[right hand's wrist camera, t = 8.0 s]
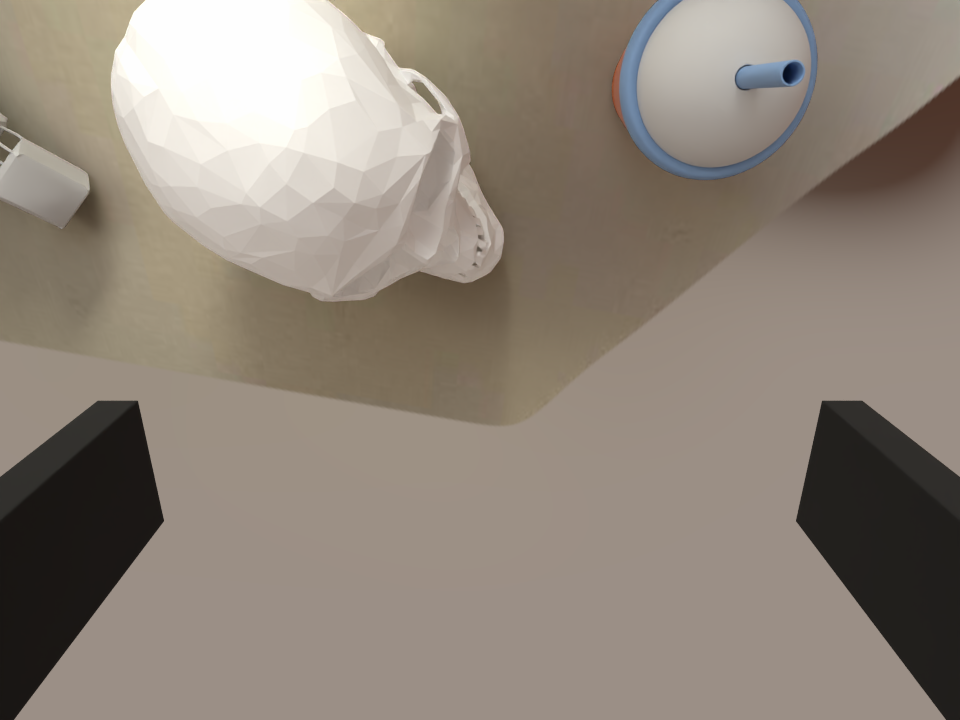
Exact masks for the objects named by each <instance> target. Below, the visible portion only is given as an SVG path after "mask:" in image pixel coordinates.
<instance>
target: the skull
mask: <svg viewBox="0 0 960 720" xmlns="http://www.w3.org/2000/svg"><path fill="white" fill-rule="evenodd" d="M412 81H415V82H421V83H424V85H425V86H426V87H427V88H428V90H429V91H430V92H431V94H432V95H433V96H434V97H435V99H436V100H437V101H438V103H439V106H440V108H441V112H442V114H437V113H436V112H435V111H434V109H433V108H432V107H431V106H430V105H429V104H428V103H427V102H426V101H425V100H424V98H422V97H421V96H420V95H419V94H417V91H416V88H415V85H414V84H413V83H412ZM111 92H112V102H113V108H114V112H115V116H116V120H117V124H118V127H119V130H120V132H121V135H122V138H123V140H124V143H125V145H126V147H127V149H128V151H129V153H130V155H131V157H132V159H133V161H134V163H135V165H136V167H137V169H138V171H139V173H140V175H141V177H142V179H143V181H144V183H145V185H146V186H147V188H148V189H149V191H150V192H151V194H152V195H153V197H154V198H155V200H156V201H157V203H158V204H159V206H160V207H161V209H162V210H163V212H164V213H165V214H166V215H167V216H168V217H169V219H170V220H171V221H172V222H174V223H175V224H176V225H177V226H179V227H180V228H181V229H182V230H184V231H185V232H186V233H188V234H189V235H190V236H191V237H193V238H194V239H195V240H197V241H198V242H199V243H200V244H202V245H203V246H205V247H206V248H208V249H209V250H211V251H213V252H214V253H216V254H217V255H219V256H221V257H222V258H224V259H226V260H227V261H229V262H232V263H234V264H236V265H238V266H241V267H243V268H245V269H247V270H250V271H252V272H254V273H257V274H259V275H261V276H263V277H266V278H268V279H270V280H273V281H275V282H277V283H280V284H282V285H285V286H288V287H292V288H295V289H299V290H302V291H306V292H309V293H311V295H312V297H314V298H316V299H318V300H320V301H332V302H337V301H350V300H365V299H368V298H371V297H374V296H375V295H376V294H377V293H378V291H379V290H381V289H383V288H385V287H387V286H389V285H391V284H393V283H394V282H396V281H398V280H399V279H401V278H403V277H406V276H408V275H411V274H413V273H416V272H418V271H421V272H424V273H427V274H430V275H434V276H438V277H441V278H443V279H450V280H453V281H457V282H461V283H468V282H473V281H475V280H477V279H479V278H481V277H483V276H485V275H487V274H488V273H490V272H491V271H492V270H493V268H494V267H495V266H496V264H497V263H498V262H499V260H500V259H501V255H502V250H503V244H504V232H503V228H502V226H501V224H500V222H499V221H498V219H497V218H496V216H495V214H494V213H493V211H492V210H491V208H490V206H489V205H488V203H487V201H486V199H485V197H484V195H483V193H482V191H481V189H480V186H479V184H478V181H477V179H476V176H475V174H474V171H473V169H472V168H471V166H470V164H469V162H470V161H471V157H470V150H469V146H468V142H467V139H466V135H465V131H464V128H463V125H462V123H461V120H460V118H459V116H458V114H457V112H456V110H455V109H454V107H453V106H452V104H451V103H450V101H449V100H448V98H447V97H446V96H445V95H444V94H443V93H442V92H441V91H440V90H439V89H438V88H437V87H436V86H435V85H434V84H433V83H432V82H431V81H430V80H429V79H428V78H427V77H425V76H423V75H422V74H420V73H419V72H417V71H415V70H413V69H408V68H399V67H398V66H397V65H396V63H395V62H394V60H393V59H392V58H391V56H390V55H389V53H388V52H387V50H386V49H385V43H384V42H383V40H382V39H380V38H378V37H375V36H372V35H369V34H366V33H365V32H363V31H361V30H360V29H359V28H358V26H357V25H356V24H355V23H354V22H353V21H352V20H351V19H350V18H348V17H347V16H346V15H345V14H344V13H343V12H341V11H340V10H339V9H338V8H337V7H335V6H334V5H333V4H332V3H330V2H329V1H328V0H145V1H144V2H143V3H142V4H141V5H140V6H139V7H138V8H137V9H136V10H135V11H134V13H133V16H132V18H131V20H130V23H129V25H128V28H127V31H126V34H125V37H124V38H123V40H122V41H121V43H120V44H119V46H118V47H117V49H116V50H115V56H114V62H113V67H112V73H111Z"/></svg>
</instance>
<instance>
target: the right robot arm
mask: <svg viewBox="0 0 960 720" xmlns="http://www.w3.org/2000/svg"><path fill="white" fill-rule="evenodd" d="M163 522H164V519H163V514H162V510H161V505H160V500H159V496H158V491H157V487H156V482H155V478H154V473H153V468H152V464H151V459H150V455H149V450H148V445H147V441H146V436H145V432H144V427H143V423H142V418H141V413H140V409H139V404H138V401H97V402H96V403H94V404H93V405H92V406H91V407H89V408H88V409H87V410H85V411H84V412H83V413H82V414H80V415H79V416H78V417H77V418H75V419H74V420H73V421H71V422H70V423H69V424H68V425H66V426H65V427H64V428H62V429H61V430H60V431H59V432H57V433H56V434H55V435H53V436H52V437H51V438H50V439H48V440H47V441H46V442H45V443H43V444H42V445H41V446H39V447H38V448H37V449H36V450H34V451H33V452H32V453H30V454H29V455H28V456H27V457H25V458H24V459H23V460H21V461H20V462H19V463H18V464H16V465H15V466H14V467H12V468H11V469H10V470H9V471H7V472H6V473H5V474H3V475H2V476H1V477H0V720H14V719H15V718H16V716H17V715H18V714H19V712H20V711H21V710H22V708H23V707H24V706H25V704H26V703H27V702H28V700H29V699H30V698H31V696H32V695H33V694H34V692H35V691H36V690H37V688H38V687H39V686H40V684H41V683H42V682H43V680H44V679H45V678H46V677H47V675H48V674H49V672H50V671H51V670H52V669H53V667H54V666H55V665H56V663H57V662H58V661H59V659H60V658H61V657H62V655H63V654H64V653H65V651H66V650H67V649H68V647H69V646H70V645H71V643H72V642H73V641H74V639H75V638H76V637H77V635H78V634H79V633H80V631H81V630H82V629H83V628H84V626H85V625H86V624H87V622H88V621H89V620H90V618H91V617H92V616H93V614H94V613H95V612H96V610H97V609H98V608H99V606H100V605H101V604H102V602H103V601H104V600H105V598H106V597H107V596H108V594H109V593H110V592H111V590H112V589H113V588H114V586H115V585H116V584H117V583H118V581H119V580H120V579H121V577H122V576H123V574H124V573H125V572H126V571H127V569H128V568H129V567H130V565H131V564H132V563H133V561H134V560H135V559H136V557H137V556H138V555H139V553H140V552H141V551H142V549H143V548H144V547H145V545H146V544H147V543H148V541H149V540H150V539H151V538H152V536H153V535H154V533H155V532H156V531H157V530H158V528H159V527H160V526H161V524H162V523H163ZM796 522H797V523H798V524H799V526H800V527H801V528H802V530H803V531H804V532H805V534H806V535H807V536H808V538H809V539H810V540H811V541H812V543H813V544H814V545H815V547H816V548H817V549H818V551H819V552H820V553H821V555H822V556H823V557H824V559H825V560H826V561H827V563H828V564H829V565H830V567H831V568H832V569H833V571H834V572H835V573H836V575H837V576H838V577H839V578H840V580H841V581H842V582H843V584H844V585H845V586H846V588H847V589H848V590H849V592H850V593H851V594H852V596H853V597H854V598H855V600H856V601H857V602H858V604H859V605H860V606H861V608H862V609H863V610H864V612H865V613H866V614H867V616H868V617H869V618H870V620H871V621H872V622H873V623H874V625H875V626H876V628H877V629H878V630H879V631H880V633H881V634H882V635H883V637H884V638H885V639H886V641H887V642H888V643H889V645H890V646H891V647H892V649H893V650H894V651H895V653H896V654H897V655H898V657H899V658H900V659H901V661H902V662H903V663H904V665H905V666H906V667H907V669H908V670H909V671H910V672H911V674H912V675H913V677H914V678H915V679H916V680H917V682H918V683H919V684H920V686H921V687H922V688H923V690H924V691H925V692H926V694H927V695H928V696H929V698H930V699H931V700H932V702H933V703H934V704H935V706H936V707H937V708H938V710H939V711H940V712H941V714H942V715H943V716H944V717H945V719H946V720H960V477H959V476H958V475H957V474H955V473H954V472H953V471H951V470H950V469H949V468H948V467H946V466H945V465H944V464H942V463H941V462H940V461H939V460H937V459H936V458H935V457H933V456H932V455H931V454H930V453H928V452H927V451H926V450H925V449H923V448H922V447H921V446H919V445H918V444H917V443H916V442H914V441H913V440H912V439H910V438H909V437H908V436H907V435H905V434H904V433H903V432H901V431H900V430H899V429H898V428H896V427H895V426H894V425H892V424H891V423H890V422H889V421H887V420H886V419H885V418H884V417H882V416H881V415H880V414H878V413H877V412H876V411H874V410H873V409H872V408H871V407H869V406H868V405H867V404H866V403H864V402H863V401H822V404H821V409H820V413H819V418H818V422H817V427H816V432H815V436H814V441H813V445H812V450H811V455H810V459H809V464H808V468H807V473H806V478H805V482H804V487H803V491H802V496H801V501H800V505H799V510H798V514H797V519H796Z"/></svg>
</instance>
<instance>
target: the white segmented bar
mask: <svg viewBox="0 0 960 720" xmlns="http://www.w3.org/2000/svg"><path fill="white" fill-rule="evenodd" d="M7 121H8V118H7V117H5V116H4V115H2V114H1V113H0V136H1V135H2V133H3V132H4V130H5V131H7V132H9V133H11V134H13V135H15V136H16V137H18V138H19V139H20V141H19V143H18V144H17V145H16V146H15V147H14V149H13V150H11V149H9V148H8V147H6V146H5V145H3V144H2V143H1V142H0V147H2V148H3V149H5V150H6V151H8V152H10V154H9V155H8V157H7V158H6V160H5V161H4V162H2V161H1V160H0V164H1V165H2V166H0V200H2V201H4V202H6V203H8V204H10V205H12V206H15V207H17V208H19V209H21V210H23V211H25V212H27V213H30V214H32V215H34V216H36V217H38V218H40V219H42V220H45V221H47V222H49V223H51V224H53V225H55V226H57V227H59V228H60V229H62V228H64V227H66V225H67V224H68V222H69V221H70V220H71V218H72V217H73V215H74V214H75V213H76V211H77V210H78V209H79V207H80V206H81V204H82V203H83V202H84V200H85V199H86V197H87V196H88V195H89V193H90V186H89V177H88V174H87V173H86V172H85V171H83V170H82V169H81V168H79V167H77V166H75V165H73V164H71V163H69V162H68V161H66V160H64V159H62V158H60V157H58V156H56V155H55V154H53V153H51V152H49V151H47V150H45V149H43V148H42V147H40V146H38V145H36V144H34V143H32V142H30V141H29V140H27V139H25V138H23V137H22V136H20V135H19V134H18V133H16V132H14V131H12V130H10V129H8V128H6V127H7Z"/></svg>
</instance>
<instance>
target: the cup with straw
mask: <svg viewBox="0 0 960 720" xmlns="http://www.w3.org/2000/svg"><path fill="white" fill-rule="evenodd" d="M816 74H817V46H816V40H815V35H814V31H813V28H812V25H811V23H810V20H809V18H808V16H807V14H806V12H805V10H804V9H803V7H802V6H801V4H800V3H799V1H798V0H658V1H657V2H656V3H655V4H654V5H653V6H652V7H651V8H650V9H649V10H648V12H647V13H646V14H645V15H644V17H643V18H642V20H641V21H640V22H639V24H638V26H637V27H636V29H635V31H634V32H633V35H632V37H631V39H630V41H629V43H628V45H627V47H626V49H625V50H624V52H623V54H622V56H621V58H620V60H619V62H618V64H617V67H616V69H615V72H614V76H613V81H612V98H613V103H614V107H615V109H616V112H617V114H618V116H619V117H620V119H621V121H622V123H623V124H624V126H625V127H626V129H627V130H628V132H629V134H630V136H631V138H632V139H633V141H634V142H635V144H636V146H637V147H638V148H639V149H640V151H641V152H642V153H643V154H644V155H645V156H646V157H647V158H648V159H649V160H650V161H652V162H653V163H654V164H655V165H657V166H659V167H660V168H662V169H663V170H665V171H667V172H669V173H672V174H674V175H677V176H680V177H684V178H688V179H696V180H714V179H721V178H726V177H730V176H734V175H737V174H739V173H742V172H744V171H747V170H749V169H751V168H753V167H754V166H756V165H758V164H760V163H761V162H763V161H764V160H766V159H767V158H768V157H770V156H771V155H772V154H773V153H774V152H776V151H777V150H778V149H779V148H780V147H781V146H782V145H783V144H784V143H785V142H786V140H787V139H788V138H789V137H790V136H791V134H792V133H793V132H794V130H795V129H796V127H797V126H798V124H799V123H800V121H801V119H802V118H803V116H804V114H805V111H806V109H807V107H808V105H809V102H810V100H811V97H812V93H813V90H814V86H815V81H816Z"/></svg>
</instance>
